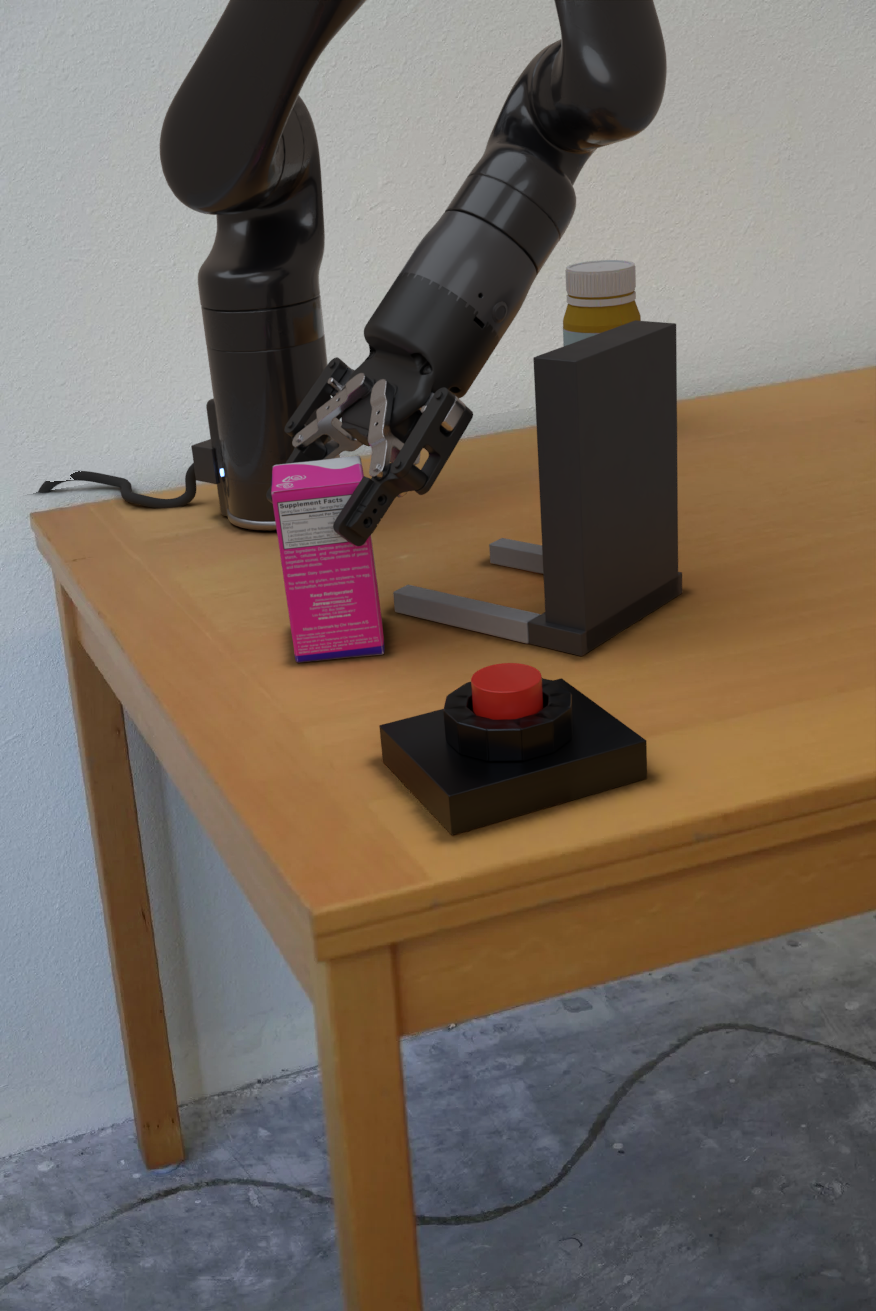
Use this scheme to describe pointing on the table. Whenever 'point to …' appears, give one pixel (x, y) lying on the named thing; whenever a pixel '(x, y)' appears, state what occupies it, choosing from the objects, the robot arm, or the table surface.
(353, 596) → the supplement box
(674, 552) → the upright panel stand
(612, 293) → the bottle
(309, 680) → the table surface
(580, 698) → the control block
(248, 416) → the robot arm
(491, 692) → the red button
